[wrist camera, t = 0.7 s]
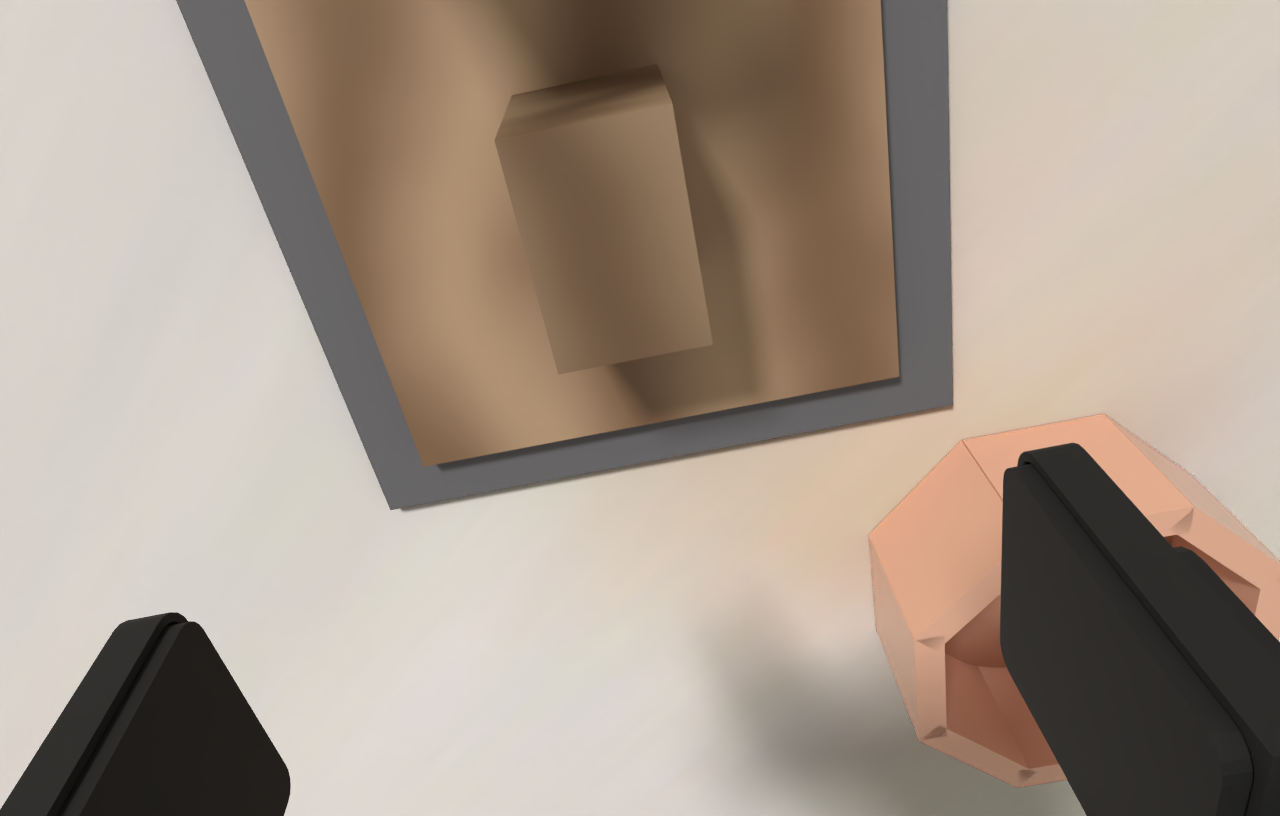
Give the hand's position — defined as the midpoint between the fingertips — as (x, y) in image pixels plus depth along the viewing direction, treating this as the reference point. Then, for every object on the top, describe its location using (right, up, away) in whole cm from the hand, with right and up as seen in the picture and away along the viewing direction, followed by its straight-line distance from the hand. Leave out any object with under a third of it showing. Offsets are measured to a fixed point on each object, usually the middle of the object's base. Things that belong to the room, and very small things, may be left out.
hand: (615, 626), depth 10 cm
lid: (-1, +9, +16) cm, 18 cm away
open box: (+15, -3, +24) cm, 29 cm away
